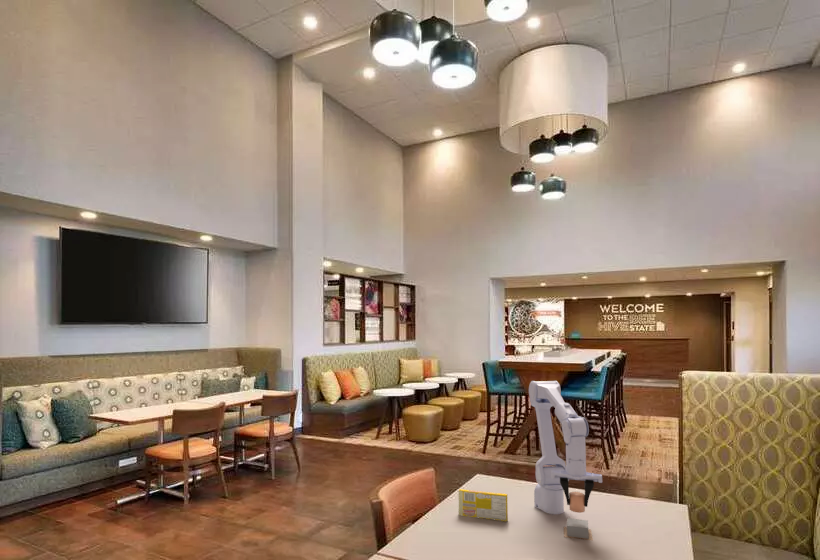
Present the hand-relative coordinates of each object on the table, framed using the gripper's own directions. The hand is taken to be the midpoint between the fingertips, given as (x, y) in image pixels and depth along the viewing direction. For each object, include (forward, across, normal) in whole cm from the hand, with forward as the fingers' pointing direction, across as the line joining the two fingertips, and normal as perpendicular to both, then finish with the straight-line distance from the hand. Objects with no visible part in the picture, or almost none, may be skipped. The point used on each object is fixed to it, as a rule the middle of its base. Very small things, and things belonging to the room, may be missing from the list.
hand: (577, 504), depth 150 cm
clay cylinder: (+1, 0, 0) cm, 1 cm away
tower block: (+8, 0, 0) cm, 8 cm away
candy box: (+10, -29, +8) cm, 32 cm away
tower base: (+10, 0, 0) cm, 10 cm away
